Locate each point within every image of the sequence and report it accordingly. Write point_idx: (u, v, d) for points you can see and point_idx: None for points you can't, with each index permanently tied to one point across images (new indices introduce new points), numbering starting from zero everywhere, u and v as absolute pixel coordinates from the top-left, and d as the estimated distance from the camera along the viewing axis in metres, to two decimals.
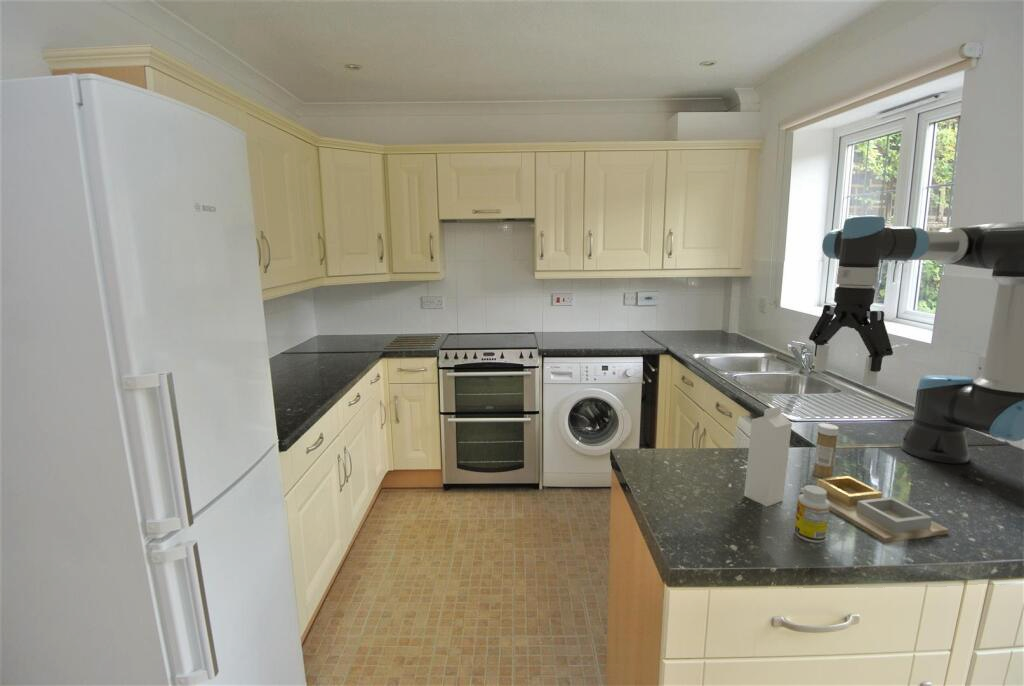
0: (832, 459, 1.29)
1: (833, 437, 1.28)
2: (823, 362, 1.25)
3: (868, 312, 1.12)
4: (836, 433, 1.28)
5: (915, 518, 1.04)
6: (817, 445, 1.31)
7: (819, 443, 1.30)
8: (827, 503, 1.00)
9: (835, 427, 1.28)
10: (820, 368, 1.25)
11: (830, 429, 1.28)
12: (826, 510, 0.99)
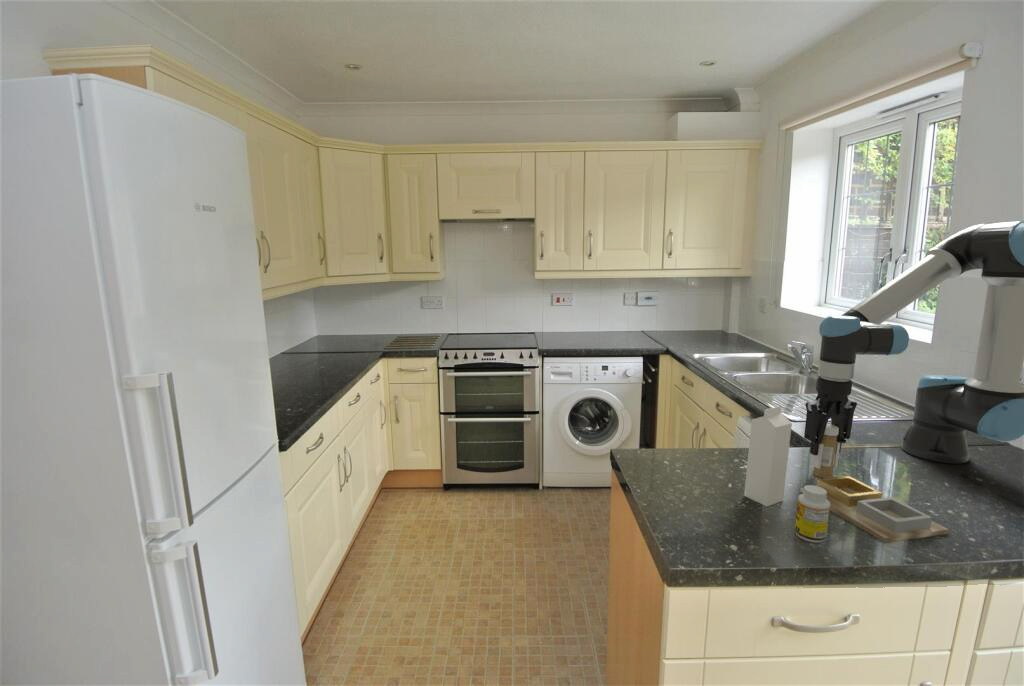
0: (832, 459, 1.29)
1: (833, 437, 1.28)
2: None
3: None
4: (836, 433, 1.28)
5: (915, 518, 1.04)
6: None
7: None
8: (827, 503, 1.00)
9: (835, 427, 1.28)
10: None
11: (830, 429, 1.28)
12: (826, 510, 0.99)
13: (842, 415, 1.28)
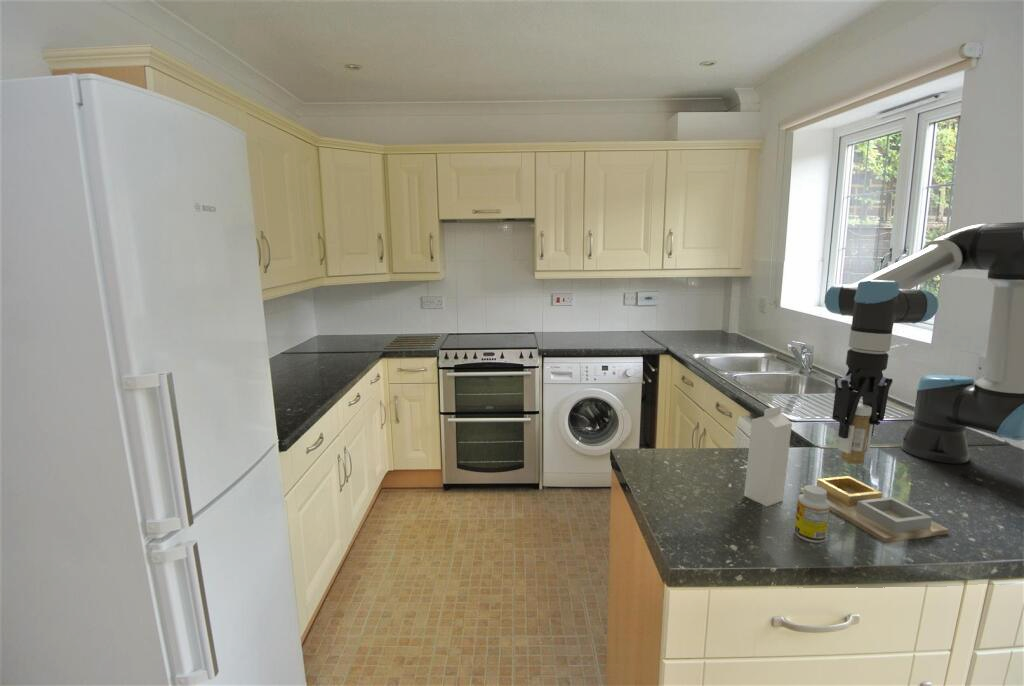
0: (864, 443, 1.14)
1: (866, 417, 1.13)
2: None
3: None
4: (869, 413, 1.13)
5: (915, 518, 1.04)
6: None
7: None
8: (827, 503, 1.00)
9: (868, 406, 1.14)
10: None
11: (862, 408, 1.13)
12: (826, 510, 0.99)
13: (876, 393, 1.13)
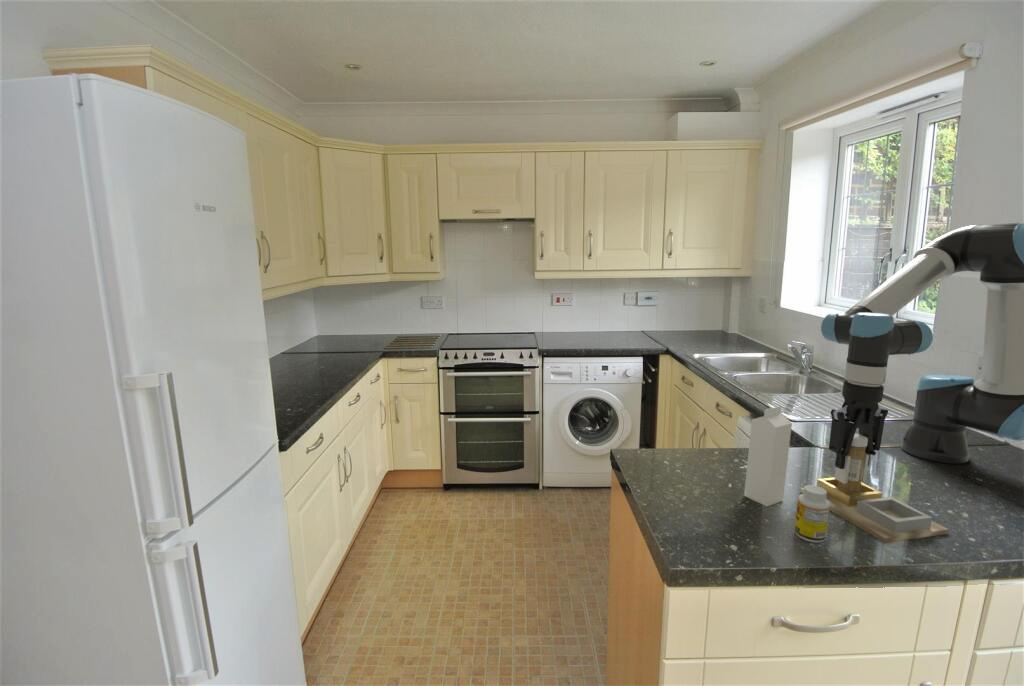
0: (860, 473, 1.15)
1: (862, 448, 1.14)
2: None
3: None
4: (865, 444, 1.14)
5: (915, 518, 1.04)
6: None
7: None
8: (827, 503, 1.00)
9: (864, 437, 1.15)
10: None
11: (858, 440, 1.14)
12: (826, 510, 0.99)
13: (872, 424, 1.14)
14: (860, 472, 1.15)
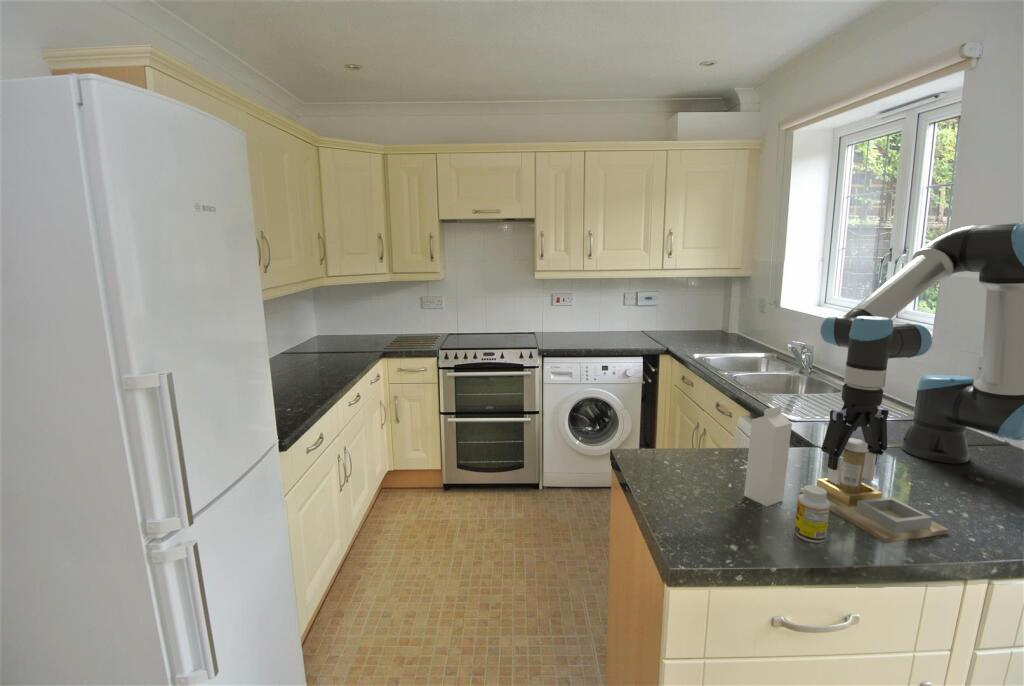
0: (860, 478, 1.16)
1: (862, 454, 1.15)
2: (867, 470, 1.18)
3: None
4: (865, 449, 1.14)
5: (915, 518, 1.04)
6: (843, 462, 1.17)
7: (845, 460, 1.17)
8: (827, 503, 1.00)
9: (864, 443, 1.15)
10: (864, 475, 1.19)
11: (858, 445, 1.14)
12: (826, 510, 0.99)
13: (874, 426, 1.15)
14: (860, 477, 1.16)
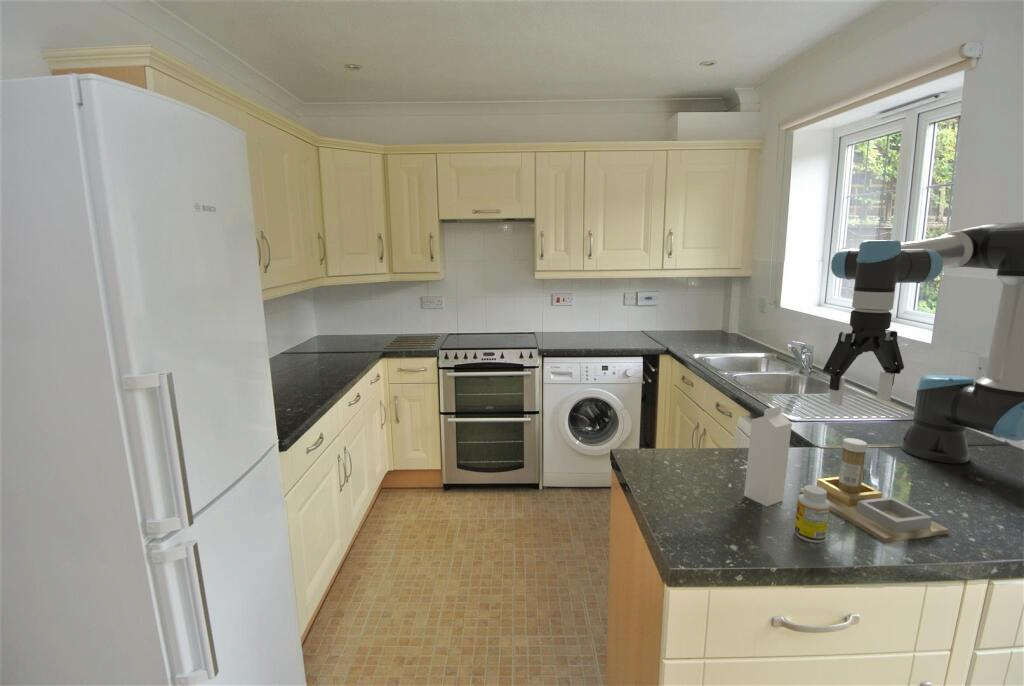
0: (859, 478, 1.16)
1: (861, 454, 1.15)
2: (884, 390, 1.18)
3: None
4: (864, 449, 1.14)
5: (915, 518, 1.04)
6: (842, 462, 1.17)
7: (845, 460, 1.17)
8: (827, 503, 1.00)
9: (863, 443, 1.15)
10: (881, 396, 1.19)
11: (858, 445, 1.14)
12: (826, 510, 0.99)
13: (885, 349, 1.15)
14: (859, 477, 1.16)
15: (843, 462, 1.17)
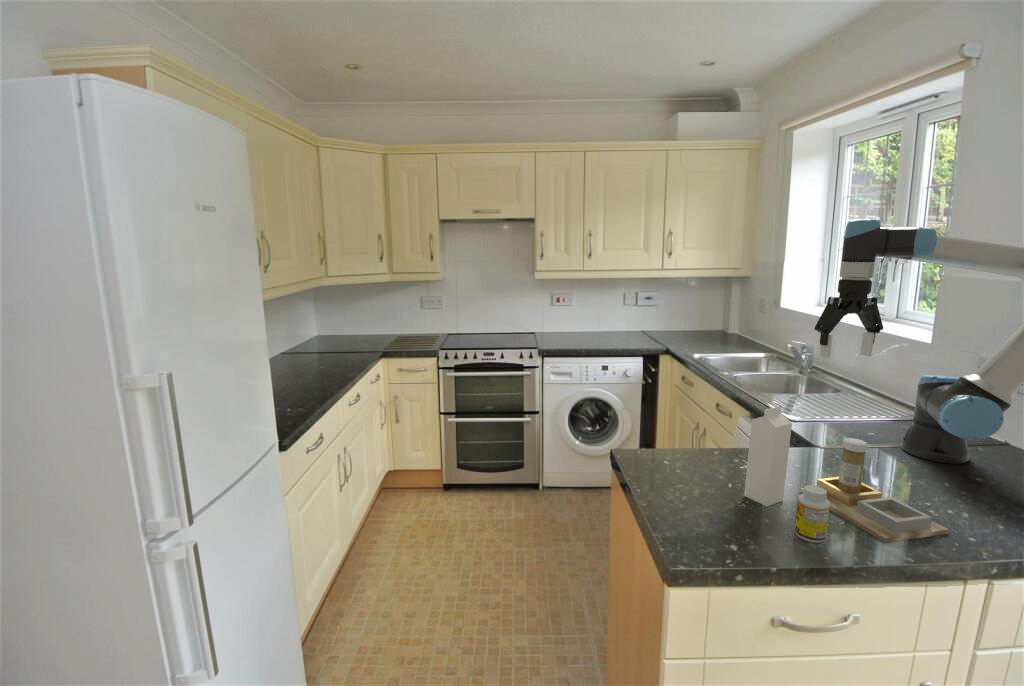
0: (860, 478, 1.16)
1: (861, 453, 1.15)
2: (866, 347, 1.41)
3: None
4: (864, 449, 1.14)
5: (915, 518, 1.04)
6: (842, 462, 1.17)
7: (845, 460, 1.17)
8: (827, 503, 1.00)
9: (863, 443, 1.15)
10: (864, 352, 1.42)
11: (858, 445, 1.14)
12: (826, 510, 0.99)
13: (867, 311, 1.37)
14: (859, 477, 1.16)
15: (843, 462, 1.17)
